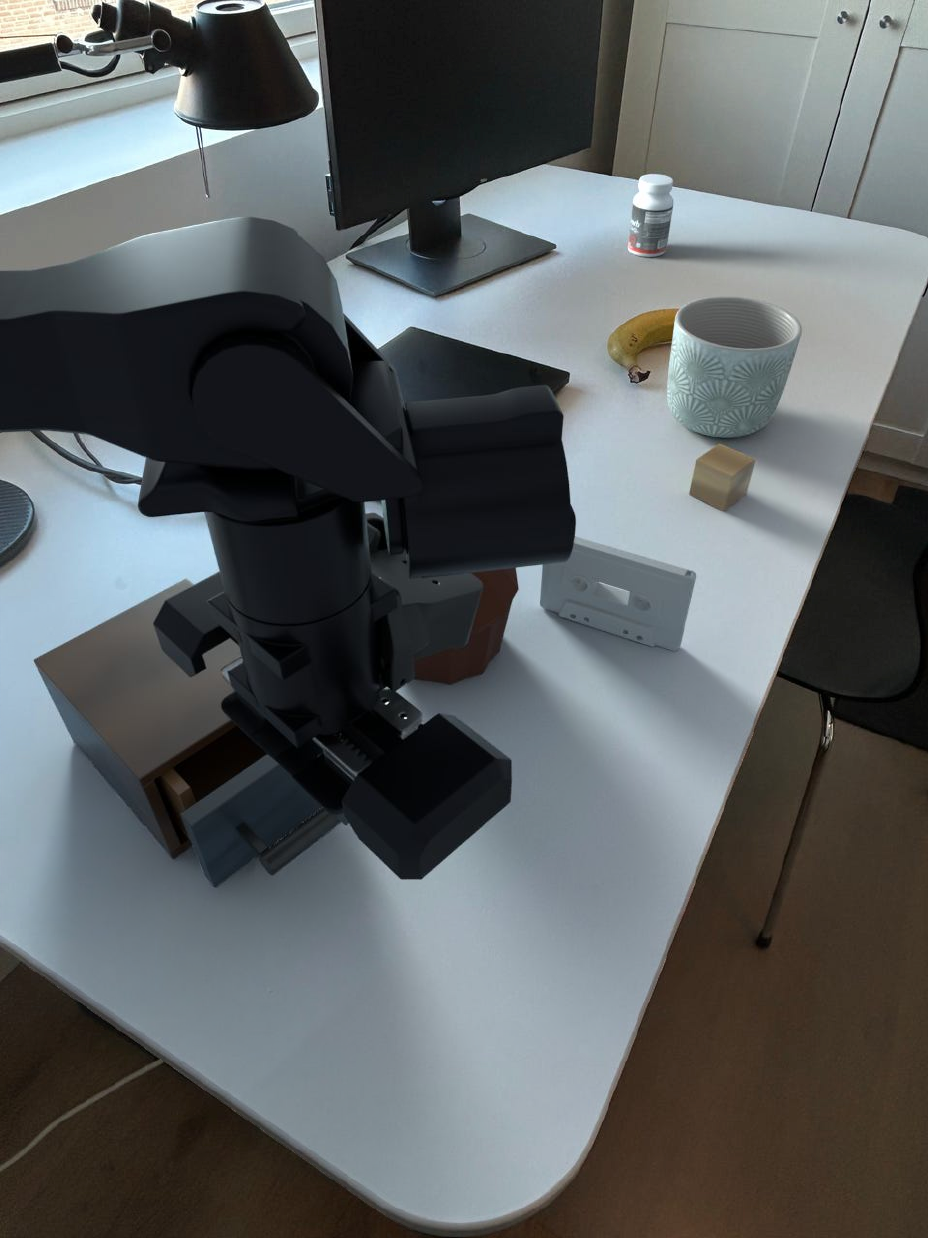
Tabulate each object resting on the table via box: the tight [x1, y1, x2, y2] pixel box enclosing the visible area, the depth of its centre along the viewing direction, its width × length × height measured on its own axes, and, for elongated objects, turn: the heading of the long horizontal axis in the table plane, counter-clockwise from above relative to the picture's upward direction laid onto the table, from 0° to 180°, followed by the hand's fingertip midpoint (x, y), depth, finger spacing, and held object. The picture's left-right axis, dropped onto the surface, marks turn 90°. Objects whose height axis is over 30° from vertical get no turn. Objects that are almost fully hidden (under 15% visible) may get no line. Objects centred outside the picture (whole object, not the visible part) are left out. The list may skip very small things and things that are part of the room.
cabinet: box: [33, 578, 242, 860], centre depth 60 cm, size 14×12×9 cm
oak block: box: [688, 443, 757, 512], centre depth 84 cm, size 4×4×4 cm
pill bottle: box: [627, 173, 674, 258], centre depth 126 cm, size 6×6×10 cm
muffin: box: [413, 568, 520, 686], centre depth 67 cm, size 12×11×10 cm
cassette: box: [539, 535, 697, 652], centre depth 69 cm, size 12×2×8 cm, turn 63°
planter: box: [666, 295, 803, 439], centre depth 92 cm, size 12×12×11 cm
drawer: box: [154, 726, 342, 889], centre depth 56 cm, size 16×10×7 cm, turn 45°
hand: (339, 806), depth 45 cm, fingers closed
